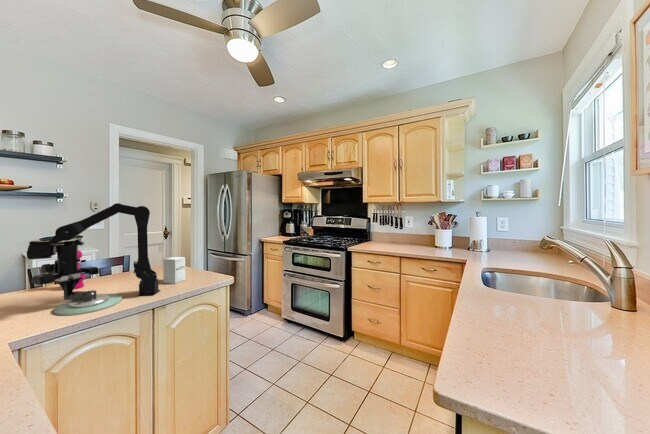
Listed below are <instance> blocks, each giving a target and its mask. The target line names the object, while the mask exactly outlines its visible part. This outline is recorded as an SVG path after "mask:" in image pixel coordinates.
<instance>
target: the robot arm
mask: <svg viewBox="0 0 650 434" xmlns="http://www.w3.org/2000/svg"><path fill="white" fill-rule="evenodd" d="M119 213H120V214H123V215H124V214H125V215H129V216H134V220H135V224H136V228H137V231H136V232H137V256H138V257H137V261H133V268H134V269H133V274H135V276H136V278H138V279H139V280H140V281H139V283H138V294H137V296H139V297H140V296H142V297H143V296H144V297H145V296H146V297H147V296H154V295H156V294H158V293H159V292H161V289H159V278H158V275H157V272H156V271H154V270H153V269H152V267H151V263H150V258H149V249H148V247H149V245H148V241H149V240H148V225H149V219H150V215H151V212H150V209H149V208H148V206H147V207H146V206H145V205H139V206H132V205H127V204H122V203H118V202H117V203H114V204H112V205H111V206H109V207H107V208H104V209H102V210H101V211H98V212H96V213H94V214H92V215H90V216H87V217H86V218H84V219H81V220H78V221H75V222H72V223H71V222H70V223H68V224H65V225H62V226H60V227H58V228H56V230H55V234H54V236H53V237H51V239H50V240H41V241H40V240H39V241H38V240H30V241H29V242H28V243H29V244H28V247H27V251H26V257H27V259H28V260H46V259H52V257H53V256H56V255H57V256H56V258H57V259H55V260H54V264H50V263H46V264H42V265H41V266H40V267H41V268H40V269H41V270H40V271H41V273H42V274H37V275H33V276H32V277H31V279H30V283H31V284H32V285H38V286H39V285H40V286H42V285H48V284H53V283H57V284H58V285H59V287H60V288H61V289H62V291H63V294H64V293H65V295H66V296H67V297H69V296H70V295H71V293H72V291H74V290H75V289H74V288H75V286H76V285H77V283H78V282H79V280H80V279H83V277H80V275H82V274H84V275H85V274H89V275H90V276H94V275H98V274H100V269H99V268H98V266H84V267H80V269H78V262H80V259H81V258H80V259H78V250H79V248H78V247H79V246H83V245H85V242H83V241H82V240H81V239H80V238H78V239H76V240H74V239H75V238H77V237H79V236H80V234H83V232H85V231H87V230H88V229H89V228H91V227H93V226H94V225H96V224H99V223H101V222H102V221H104V220H107V219H109V218H111V217H114V216H115V215H117V214H119ZM63 241H65V242H64V243H61V242H63ZM60 243H61V244H60ZM80 263H81V262H80Z"/></svg>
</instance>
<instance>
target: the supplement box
mask: <svg viewBox="0 0 650 434" xmlns="http://www.w3.org/2000/svg"><path fill="white" fill-rule="evenodd" d="M162 261H163V271H162V272H163V274H162V275H163V283H164V284H171V285H176V284H178V283H181V282H184V281H186V257H185V256H172V257H167V258H163V260H162ZM183 280H184V281H183Z"/></svg>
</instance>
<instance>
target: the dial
mask: <svg viewBox="0 0 650 434" xmlns="http://www.w3.org/2000/svg"><path fill="white" fill-rule="evenodd" d="M107 294H108V293H103V294H102V293H101V294H100V293H98V294H97V290H94V289H93V290H92V289H91V290H84V291H83V290H73V291H72V293H71V295H70V296H69V297H67V296H66V295H65V293H64V292H63V300H64V301H70V302H69V307H72V308H80V307H88V306H93V305H97V304H100V303H103V302H106V301H108V300H109V295H107ZM71 300H72V301H71Z"/></svg>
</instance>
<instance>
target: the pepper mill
mask: <svg viewBox="0 0 650 434" xmlns="http://www.w3.org/2000/svg"><path fill="white" fill-rule="evenodd" d="M82 257H83V252H82V251H81V250H79V249H78V259H80V262H78V269H80V268H81V262H82ZM80 277H83V279H80V280H79V282H78V283H77V285H76V286H75V288H74V289H73V290H78V289H82V288H83V287H84V286H85V283H84V282H83V281H85V279H86V278H85V274H82V275H80Z"/></svg>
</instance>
